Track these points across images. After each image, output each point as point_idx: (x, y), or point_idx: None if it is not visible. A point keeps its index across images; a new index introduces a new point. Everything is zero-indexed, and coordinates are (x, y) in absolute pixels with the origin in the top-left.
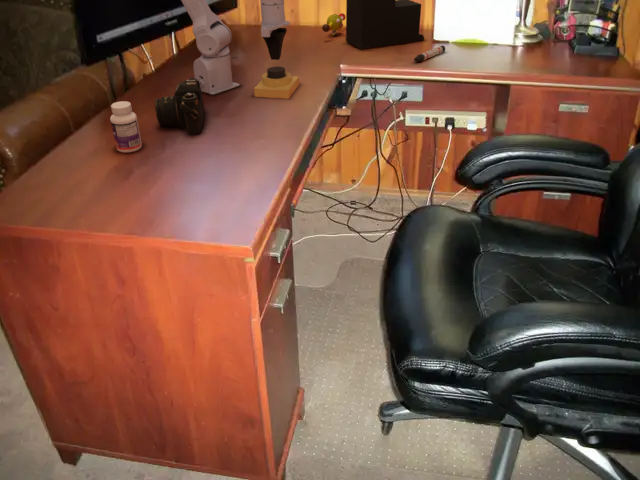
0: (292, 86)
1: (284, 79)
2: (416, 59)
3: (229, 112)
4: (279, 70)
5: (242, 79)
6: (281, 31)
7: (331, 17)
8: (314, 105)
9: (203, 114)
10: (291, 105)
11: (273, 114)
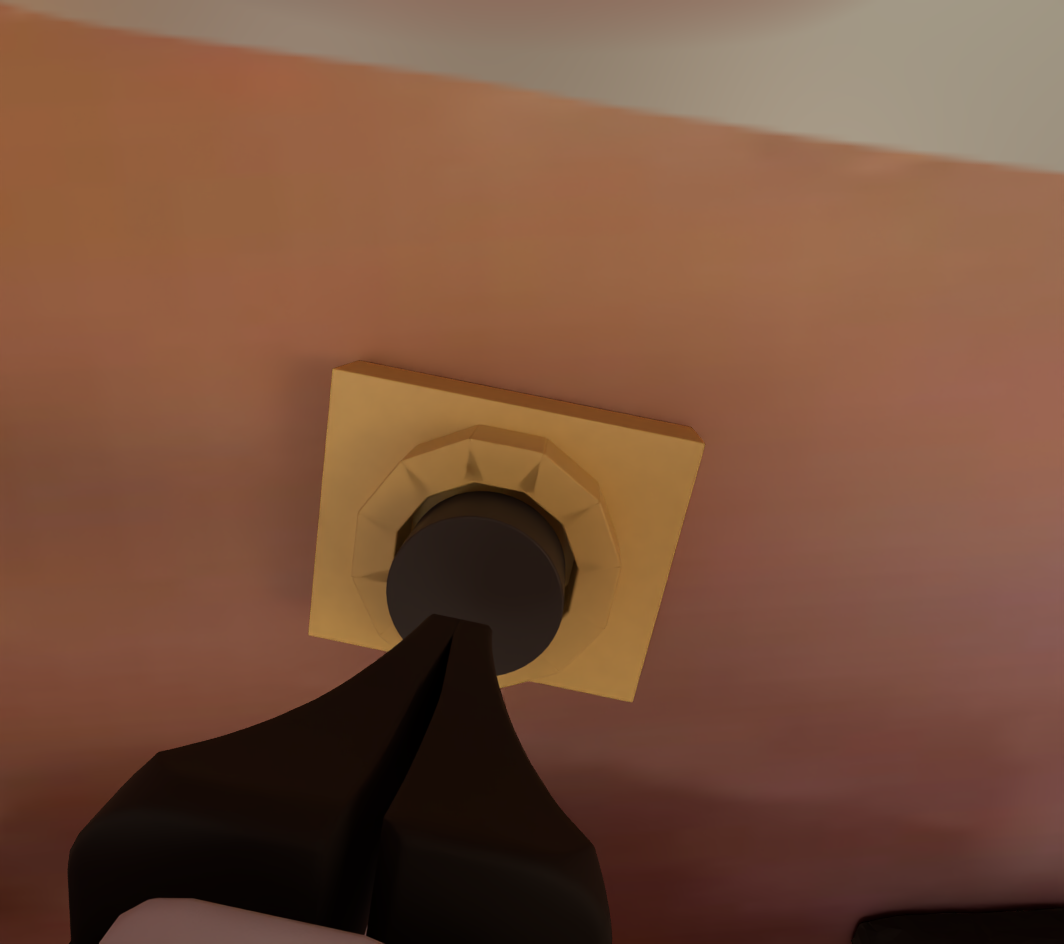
0: (562, 411)
1: (595, 496)
2: None
3: (914, 786)
4: (519, 567)
5: None
6: (330, 896)
7: None
8: (882, 195)
9: (1059, 939)
10: (848, 394)
11: (1022, 516)
